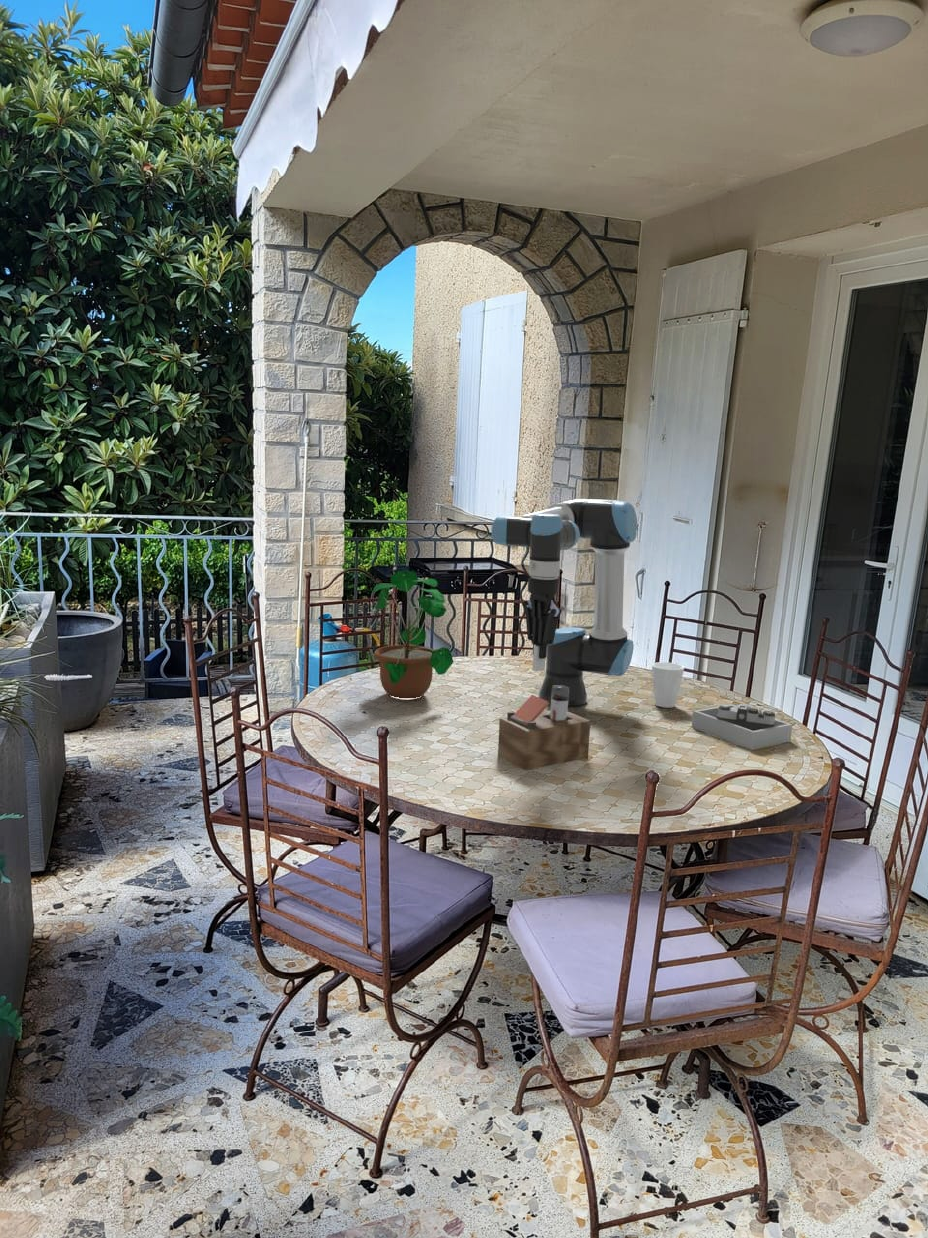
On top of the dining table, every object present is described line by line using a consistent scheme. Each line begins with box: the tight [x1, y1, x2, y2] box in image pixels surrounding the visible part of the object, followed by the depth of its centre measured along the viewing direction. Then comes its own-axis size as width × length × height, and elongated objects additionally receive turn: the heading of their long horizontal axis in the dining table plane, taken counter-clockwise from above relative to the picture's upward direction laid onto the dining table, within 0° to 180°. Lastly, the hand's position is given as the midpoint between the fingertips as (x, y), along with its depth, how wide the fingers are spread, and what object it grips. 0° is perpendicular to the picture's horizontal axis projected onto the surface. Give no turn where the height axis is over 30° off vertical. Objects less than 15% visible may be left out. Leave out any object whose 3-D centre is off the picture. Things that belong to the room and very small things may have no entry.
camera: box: [716, 703, 776, 731], centre depth 249 cm, size 16×10×10 cm, turn 68°
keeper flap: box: [510, 694, 551, 727], centre depth 221 cm, size 8×7×1 cm
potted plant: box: [371, 570, 454, 698], centre depth 275 cm, size 31×29×40 cm
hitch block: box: [497, 710, 591, 771], centre depth 225 cm, size 20×12×12 cm, turn 122°
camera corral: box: [691, 704, 793, 751], centre depth 251 cm, size 16×22×5 cm
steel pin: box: [550, 685, 569, 722], centre depth 227 cm, size 4×4×16 cm
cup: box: [651, 661, 685, 708], centre depth 276 cm, size 10×10×13 cm
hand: (538, 670), depth 220 cm, fingers closed
